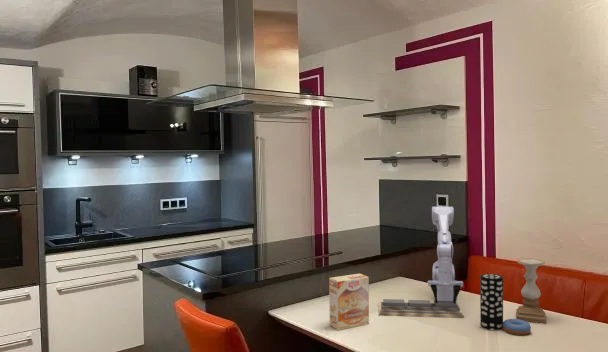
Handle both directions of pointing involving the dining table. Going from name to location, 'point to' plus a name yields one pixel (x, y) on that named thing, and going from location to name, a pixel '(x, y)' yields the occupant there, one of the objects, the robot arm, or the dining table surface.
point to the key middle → (419, 303)
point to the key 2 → (445, 304)
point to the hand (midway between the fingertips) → (445, 302)
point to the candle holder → (531, 294)
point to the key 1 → (393, 302)
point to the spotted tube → (491, 301)
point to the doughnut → (516, 326)
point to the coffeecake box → (349, 301)
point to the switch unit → (420, 311)
